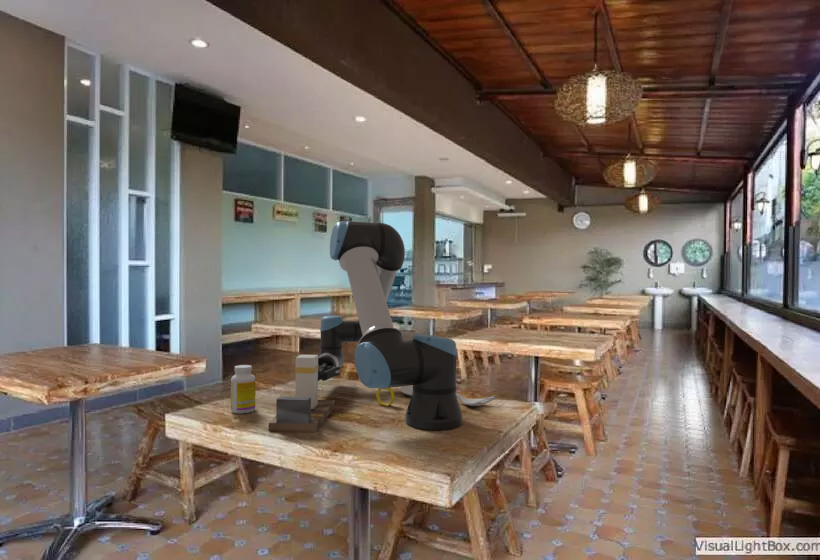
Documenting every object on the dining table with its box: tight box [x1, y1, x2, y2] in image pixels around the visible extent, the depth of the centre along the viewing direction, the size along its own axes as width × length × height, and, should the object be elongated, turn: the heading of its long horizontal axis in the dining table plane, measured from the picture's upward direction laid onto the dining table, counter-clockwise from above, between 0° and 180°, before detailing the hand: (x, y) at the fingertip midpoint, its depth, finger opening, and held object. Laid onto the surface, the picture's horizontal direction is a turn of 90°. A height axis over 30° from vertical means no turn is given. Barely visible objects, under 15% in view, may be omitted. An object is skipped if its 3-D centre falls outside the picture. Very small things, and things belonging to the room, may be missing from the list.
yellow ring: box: [375, 387, 396, 407], centre depth 157 cm, size 6×3×6 cm, turn 58°
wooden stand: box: [267, 395, 336, 433], centre depth 142 cm, size 24×12×8 cm, turn 177°
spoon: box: [399, 385, 496, 407], centre depth 163 cm, size 9×32×4 cm, turn 54°
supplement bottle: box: [230, 364, 256, 415], centre depth 148 cm, size 7×7×13 cm
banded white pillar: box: [294, 354, 319, 409], centre depth 144 cm, size 5×5×14 cm
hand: (307, 381), depth 147 cm, fingers closed
